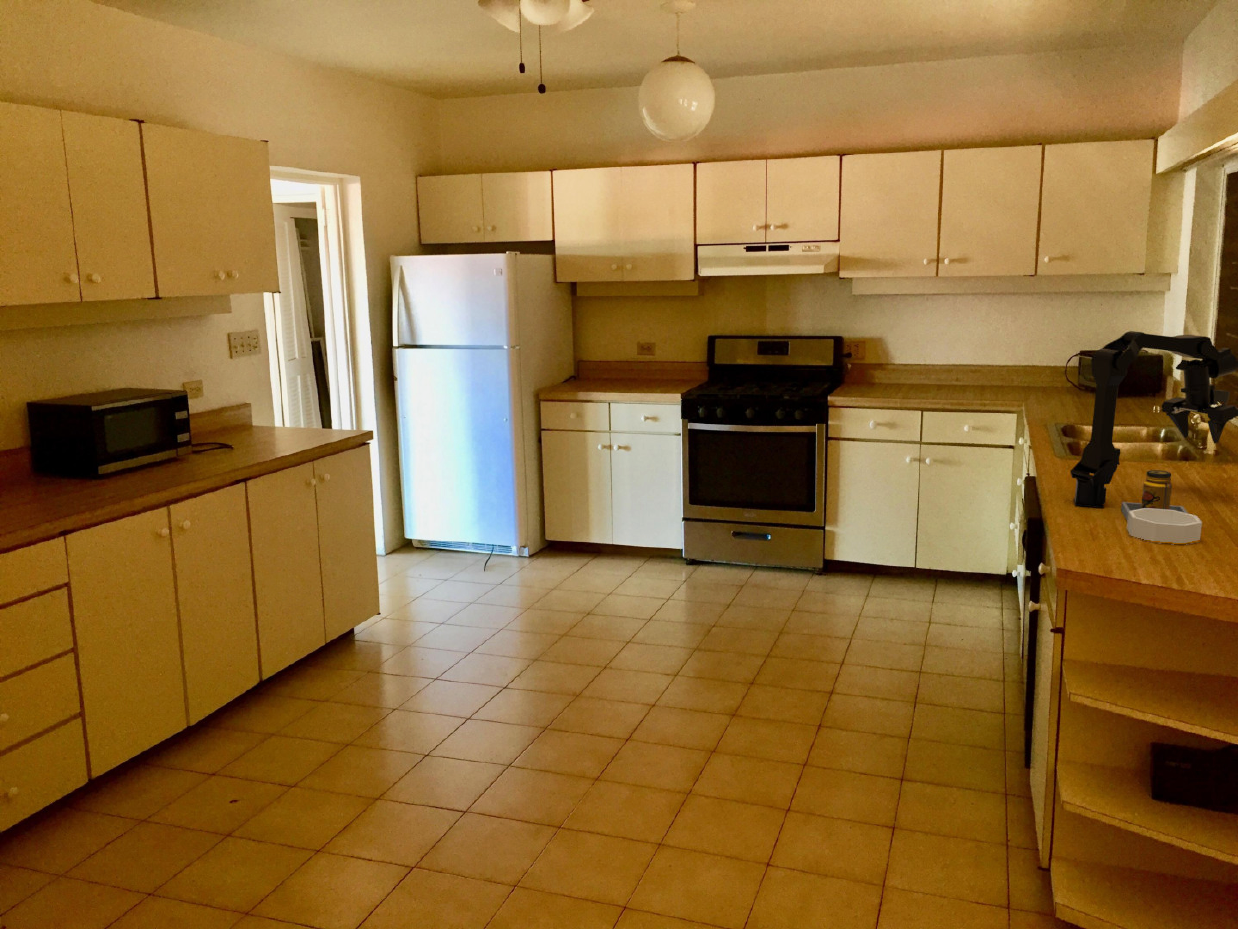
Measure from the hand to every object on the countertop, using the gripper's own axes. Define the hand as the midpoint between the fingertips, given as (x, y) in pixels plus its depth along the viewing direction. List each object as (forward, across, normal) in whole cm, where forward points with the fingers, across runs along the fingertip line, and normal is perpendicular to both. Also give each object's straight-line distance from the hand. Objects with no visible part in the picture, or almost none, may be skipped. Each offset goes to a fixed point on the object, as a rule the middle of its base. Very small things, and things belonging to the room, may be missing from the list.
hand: (1200, 440), depth 257 cm
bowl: (+7, -26, +40) cm, 48 cm away
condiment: (+9, -14, +30) cm, 35 cm away
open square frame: (+9, -14, +30) cm, 34 cm away
